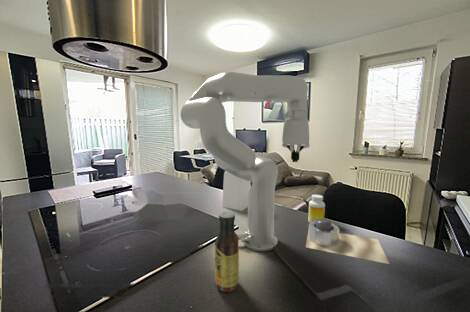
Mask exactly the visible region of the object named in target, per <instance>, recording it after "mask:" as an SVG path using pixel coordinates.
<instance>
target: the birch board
mask: <svg viewBox="0 0 470 312" xmlns="http://www.w3.org/2000/svg"><path fill="white" fill-rule="evenodd" d="M307 231H308V232H309V229H307ZM308 232H307V233H308ZM305 248H308V249H312V250H317V251H322V252H327V253H331V254H336V255H341V256H347V257H352V258H356V259H361V260H367V261H370V262H376V263H381V264H387V265H390V261H389V259H388V257H387V255H386V254H385V251H384V249H383V247H382V245H381V242H380V241H379V239H378V238H373V237H372V238H371V237H366V236H359V235H353V234H348V233H342V232H339V243H338V244H337V246H333V247H324V246H320V245H317V244H314V243H313V242H311V241H310V240H309V237H308V235H307V236H306V241H305Z"/></svg>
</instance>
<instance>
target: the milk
mask: <svg viewBox="0 0 470 312" xmlns="http://www.w3.org/2000/svg"><path fill="white" fill-rule="evenodd" d="M251 186H252V182H250V181H246V180H243V179H240V178H238V177H236V176H234V175H232V174H230V173H229V172H227V171H225V170H224V173H223V185H222V188H223V189H222V208H225V209H230V210H235V211H239V212H242V211H244V210H245V209H248V192H249V190H250V188H251Z"/></svg>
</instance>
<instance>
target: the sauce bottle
mask: <svg viewBox="0 0 470 312" xmlns="http://www.w3.org/2000/svg"><path fill="white" fill-rule="evenodd" d="M218 220H219V231H218V233H217V236H216V238H215V242H214V274H215V275H214V281H215V285H216V287H217V289H218V290H219V291H220V292H225V293H227V292H232V291H234V290H236V289H237V287H238V284H239V279H240V278H239V277H240V275H239V273H240V271H239V270H240V263H239V261H240V259H239V257H240V255H239V253H240V248H239V240H238V236H237V234H238V233H236V231H235V220H236V215H235V213H234V212H232V211H222V212H220V213H219V215H218Z"/></svg>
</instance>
